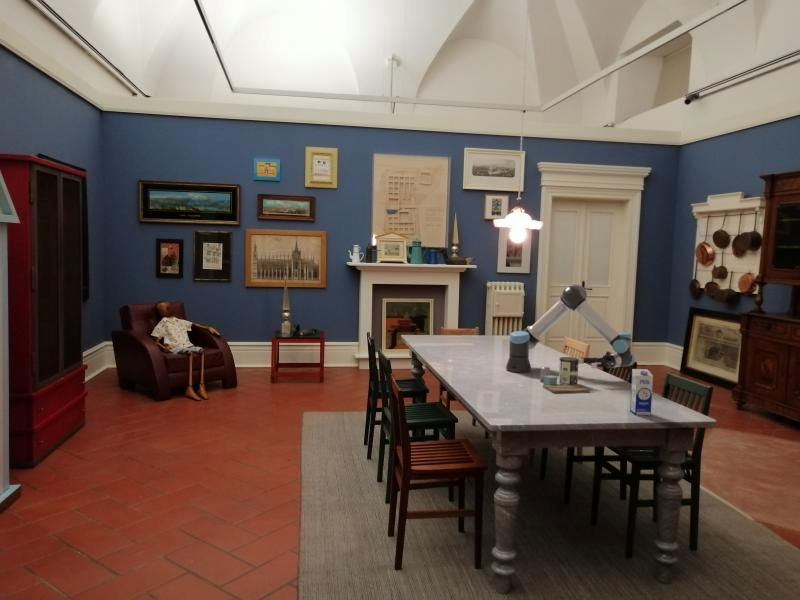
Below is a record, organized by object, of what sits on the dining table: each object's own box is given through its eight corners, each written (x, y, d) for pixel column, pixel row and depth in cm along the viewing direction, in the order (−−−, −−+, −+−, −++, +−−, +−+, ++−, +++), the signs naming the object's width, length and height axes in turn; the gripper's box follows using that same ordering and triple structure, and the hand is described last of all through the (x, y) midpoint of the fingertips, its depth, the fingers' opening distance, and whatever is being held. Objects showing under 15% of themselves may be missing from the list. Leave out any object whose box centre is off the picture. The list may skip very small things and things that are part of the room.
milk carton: (645, 411, 264) (647, 368, 262) (651, 416, 257) (653, 372, 255) (629, 411, 264) (631, 368, 262) (635, 415, 257) (637, 371, 255)
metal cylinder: (538, 380, 324) (539, 366, 323) (546, 380, 325) (547, 366, 324) (542, 382, 319) (543, 368, 318) (550, 382, 320) (551, 368, 319)
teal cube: (543, 385, 314) (543, 376, 314) (550, 384, 316) (551, 375, 316) (549, 387, 310) (549, 377, 309) (556, 386, 312) (557, 377, 311)
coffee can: (576, 382, 322) (577, 357, 321) (578, 386, 312) (579, 360, 311) (557, 381, 324) (558, 356, 323) (559, 385, 314) (560, 359, 313)
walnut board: (542, 387, 308) (543, 385, 308) (577, 386, 312) (577, 384, 312) (553, 393, 295) (553, 391, 295) (589, 392, 299) (589, 390, 299)
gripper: (627, 371, 320) (599, 374, 310) (594, 363, 342) (567, 366, 333) (628, 358, 319) (599, 360, 310) (595, 351, 341) (567, 353, 332)
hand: (582, 363), depth 321 cm, fingers open, 13 cm apart
